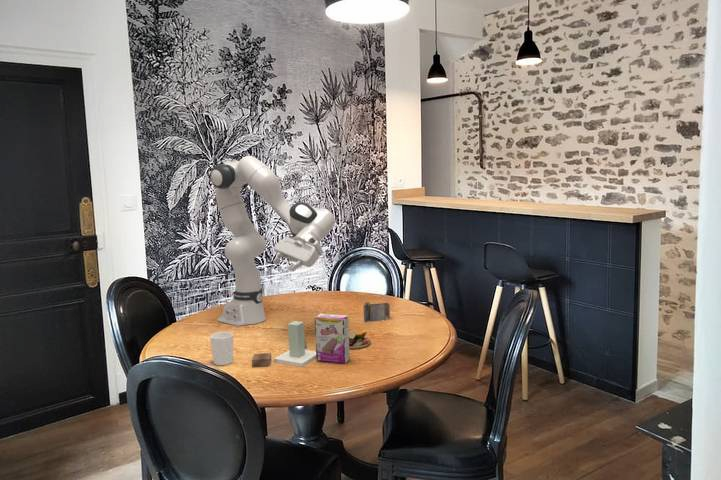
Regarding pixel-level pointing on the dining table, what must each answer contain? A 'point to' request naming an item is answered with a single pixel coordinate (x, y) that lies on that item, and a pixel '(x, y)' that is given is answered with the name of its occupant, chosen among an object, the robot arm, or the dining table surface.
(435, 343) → the dining table surface
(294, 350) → the sage block
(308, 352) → the plate
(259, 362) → the walnut block
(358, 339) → the toy sandwich meal
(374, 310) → the dark grey piece
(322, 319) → the candy bar box
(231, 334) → the white cup
